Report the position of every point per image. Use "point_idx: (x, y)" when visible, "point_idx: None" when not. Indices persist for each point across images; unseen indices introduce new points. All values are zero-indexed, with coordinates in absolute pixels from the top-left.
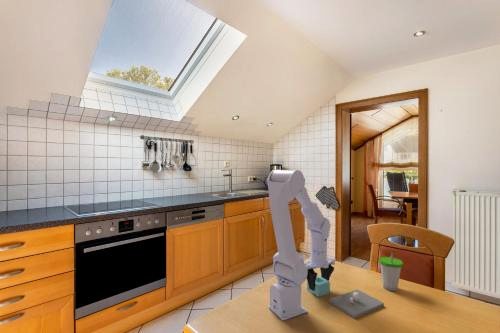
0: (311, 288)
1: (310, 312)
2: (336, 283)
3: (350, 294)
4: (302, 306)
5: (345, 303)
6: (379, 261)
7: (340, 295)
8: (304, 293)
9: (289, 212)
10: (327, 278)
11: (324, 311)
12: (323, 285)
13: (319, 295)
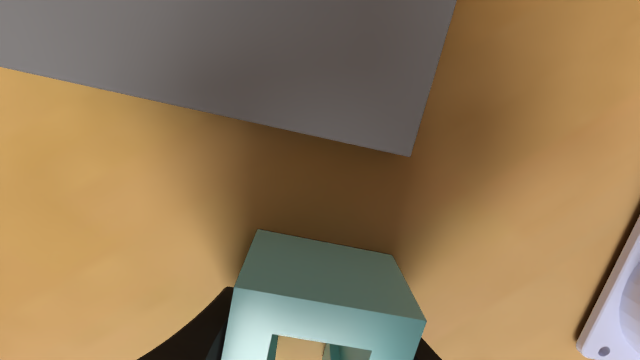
0: None
1: (636, 168)
2: (55, 280)
3: (154, 58)
4: (638, 243)
5: (364, 1)
6: None
7: (260, 120)
8: None
9: None
10: (216, 341)
11: (555, 101)
12: (342, 293)
13: (378, 255)
